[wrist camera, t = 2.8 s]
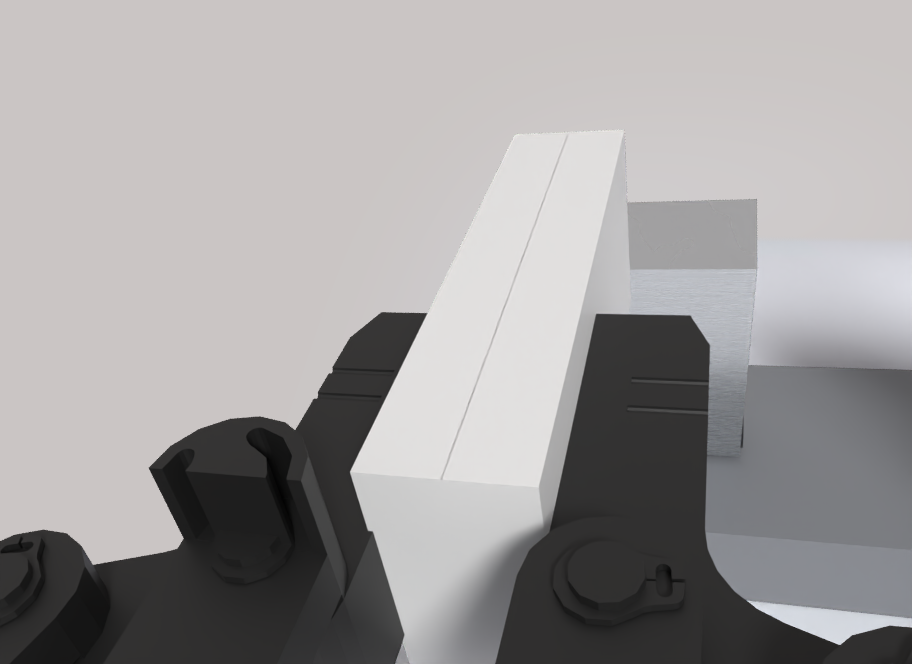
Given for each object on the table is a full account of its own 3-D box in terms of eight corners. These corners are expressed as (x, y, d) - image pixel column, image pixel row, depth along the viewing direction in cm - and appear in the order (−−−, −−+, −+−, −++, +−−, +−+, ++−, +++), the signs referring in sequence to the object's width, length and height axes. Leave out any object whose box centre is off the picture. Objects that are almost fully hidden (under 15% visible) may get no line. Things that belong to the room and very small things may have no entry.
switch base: (1345, 664, 22) (1405, 586, 20) (518, 575, 28) (506, 510, 26) (1209, 448, 28) (1246, 374, 26) (556, 416, 34) (548, 355, 33)
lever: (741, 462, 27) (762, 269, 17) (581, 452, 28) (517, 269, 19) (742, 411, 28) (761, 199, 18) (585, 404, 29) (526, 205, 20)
